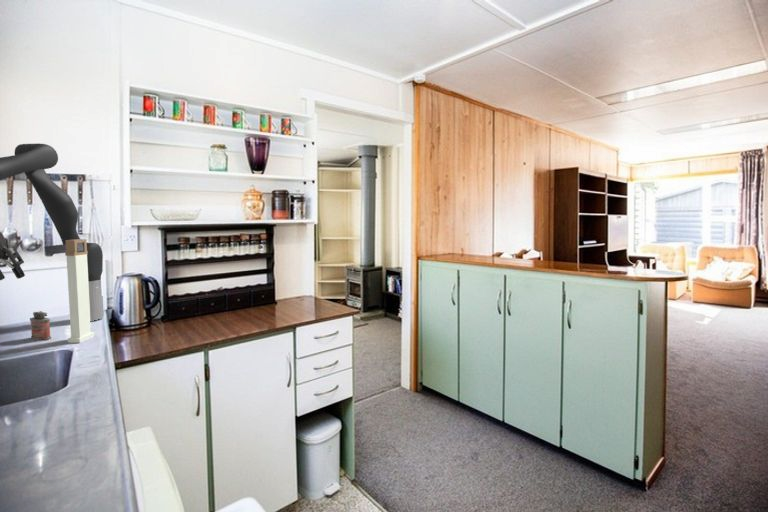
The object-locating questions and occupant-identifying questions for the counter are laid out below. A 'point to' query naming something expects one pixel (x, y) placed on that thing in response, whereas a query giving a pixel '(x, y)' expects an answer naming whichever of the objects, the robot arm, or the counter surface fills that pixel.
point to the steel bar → (60, 248)
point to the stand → (78, 291)
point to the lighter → (40, 326)
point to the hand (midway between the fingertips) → (11, 278)
